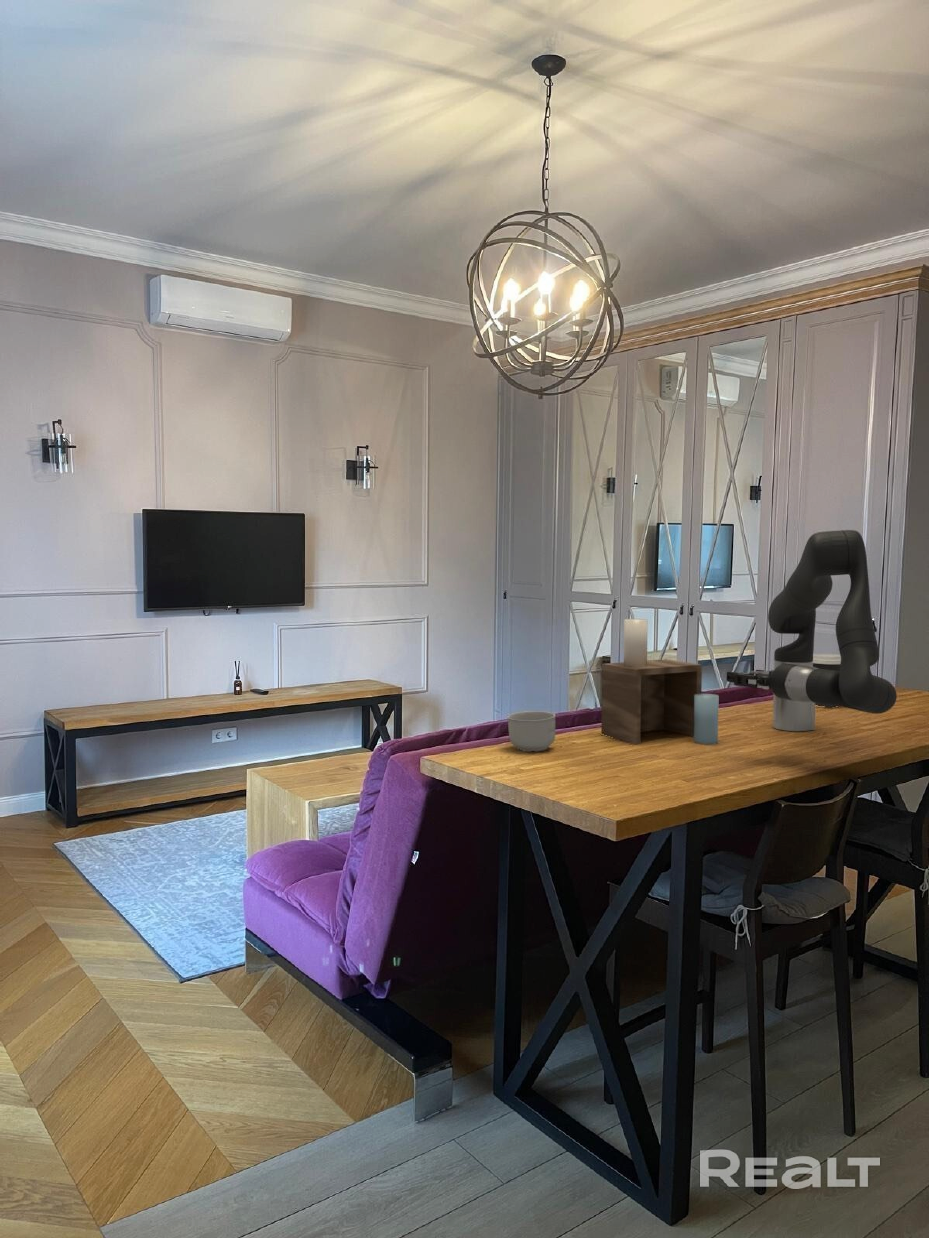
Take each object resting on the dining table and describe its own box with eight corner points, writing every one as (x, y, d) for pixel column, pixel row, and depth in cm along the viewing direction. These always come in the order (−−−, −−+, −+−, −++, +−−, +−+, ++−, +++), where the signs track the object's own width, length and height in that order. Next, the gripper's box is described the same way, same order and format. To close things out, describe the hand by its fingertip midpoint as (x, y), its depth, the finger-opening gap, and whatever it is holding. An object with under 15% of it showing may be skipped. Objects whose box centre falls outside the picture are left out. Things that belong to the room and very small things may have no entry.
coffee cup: (812, 708, 260) (813, 656, 259) (805, 703, 269) (806, 653, 268) (847, 709, 258) (848, 657, 257) (839, 704, 267) (840, 653, 266)
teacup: (559, 753, 200) (559, 718, 200) (510, 754, 200) (510, 718, 199) (548, 741, 214) (549, 707, 214) (503, 742, 213) (503, 708, 213)
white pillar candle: (643, 663, 220) (644, 618, 219) (649, 666, 214) (650, 620, 214) (621, 664, 220) (621, 618, 219) (626, 666, 214) (627, 620, 213)
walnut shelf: (665, 727, 231) (666, 659, 230) (700, 736, 219) (701, 664, 218) (601, 734, 221) (602, 663, 220) (635, 744, 210) (636, 669, 209)
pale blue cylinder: (713, 739, 216) (714, 693, 215) (721, 744, 210) (722, 697, 210) (690, 739, 216) (691, 693, 215) (697, 744, 210) (698, 697, 209)
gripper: (824, 663, 191) (765, 657, 205) (775, 667, 184) (718, 660, 198) (823, 699, 191) (764, 690, 206) (774, 703, 185) (717, 694, 199)
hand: (742, 675), depth 202 cm, fingers open, 8 cm apart
